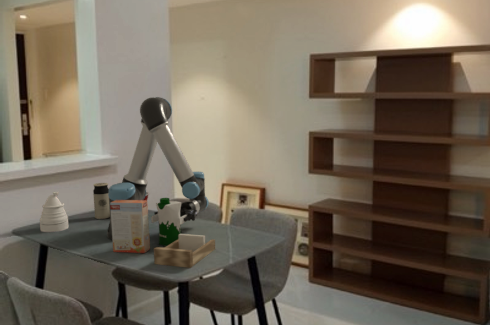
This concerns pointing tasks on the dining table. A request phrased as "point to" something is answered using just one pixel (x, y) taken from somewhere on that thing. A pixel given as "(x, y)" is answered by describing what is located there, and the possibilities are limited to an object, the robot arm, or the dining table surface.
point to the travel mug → (101, 201)
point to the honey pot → (53, 215)
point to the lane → (181, 254)
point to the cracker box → (130, 226)
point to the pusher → (191, 241)
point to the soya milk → (168, 221)
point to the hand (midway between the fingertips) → (165, 220)
